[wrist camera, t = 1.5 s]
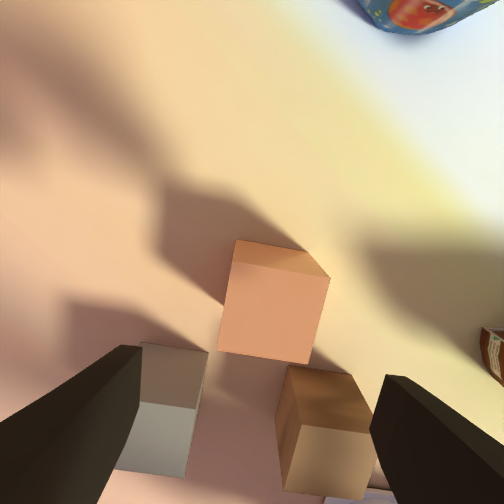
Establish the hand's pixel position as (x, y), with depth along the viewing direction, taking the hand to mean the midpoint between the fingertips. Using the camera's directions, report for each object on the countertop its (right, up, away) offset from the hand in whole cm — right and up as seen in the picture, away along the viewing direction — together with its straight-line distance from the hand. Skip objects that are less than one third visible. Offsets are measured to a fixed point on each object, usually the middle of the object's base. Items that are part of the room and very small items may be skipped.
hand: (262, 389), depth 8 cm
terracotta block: (+1, +2, +10) cm, 10 cm away
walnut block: (+4, -6, +12) cm, 14 cm away
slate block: (-6, -5, +11) cm, 13 cm away
